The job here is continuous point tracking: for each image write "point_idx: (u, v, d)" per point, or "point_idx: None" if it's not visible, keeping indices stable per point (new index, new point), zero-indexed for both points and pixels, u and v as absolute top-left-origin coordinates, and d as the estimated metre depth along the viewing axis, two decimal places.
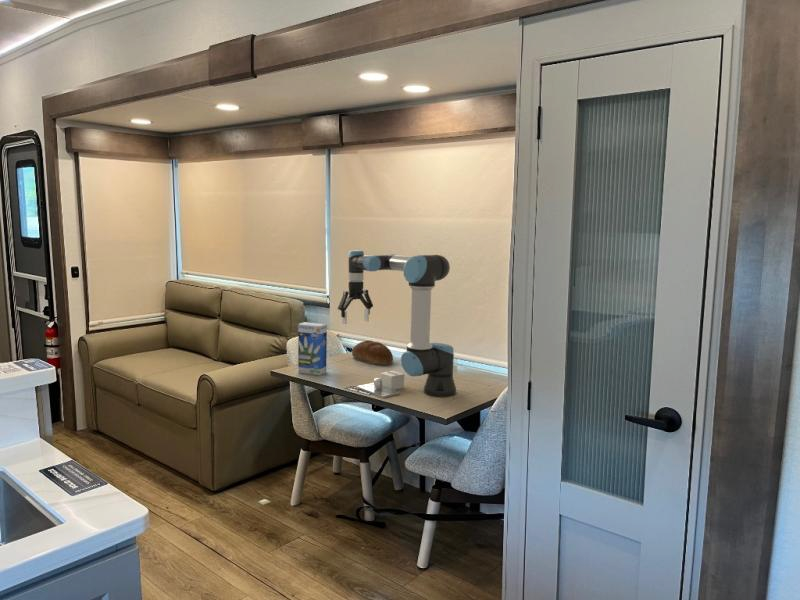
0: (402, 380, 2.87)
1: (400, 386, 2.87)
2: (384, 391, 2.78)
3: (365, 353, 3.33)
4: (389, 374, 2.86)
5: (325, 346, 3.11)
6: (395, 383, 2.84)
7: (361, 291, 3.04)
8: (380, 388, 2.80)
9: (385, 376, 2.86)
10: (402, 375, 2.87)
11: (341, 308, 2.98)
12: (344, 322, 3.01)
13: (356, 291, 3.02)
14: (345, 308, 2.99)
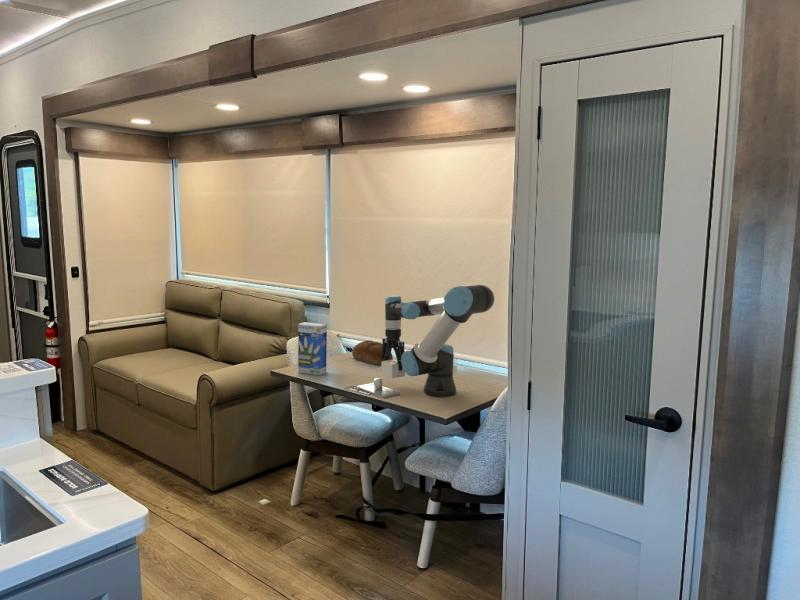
0: None
1: None
2: (384, 391, 2.78)
3: (365, 353, 3.33)
4: (390, 362, 2.85)
5: (325, 346, 3.11)
6: (396, 371, 2.83)
7: (395, 340, 2.82)
8: (380, 388, 2.80)
9: (386, 364, 2.84)
10: None
11: (381, 356, 2.91)
12: None
13: (390, 339, 2.85)
14: (384, 357, 2.89)
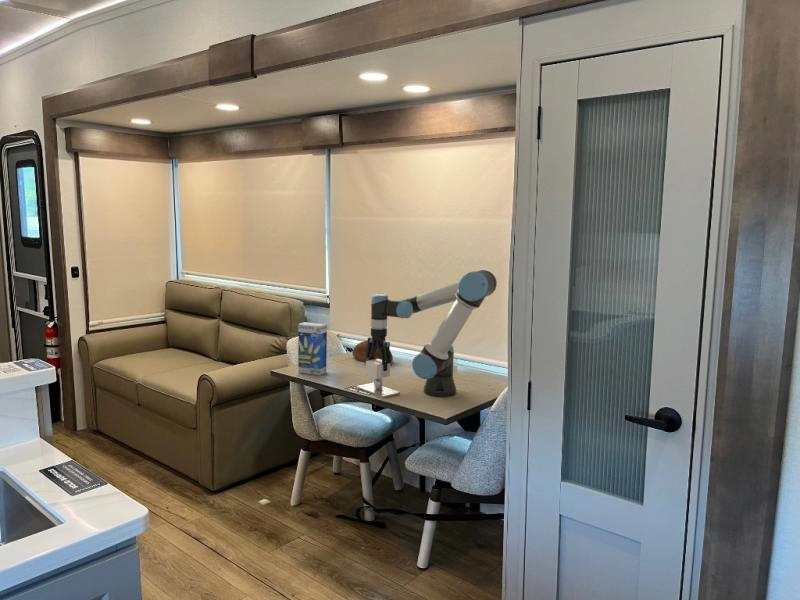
0: (388, 369, 2.79)
1: (386, 375, 2.79)
2: (384, 391, 2.78)
3: (365, 352, 3.33)
4: (375, 362, 2.78)
5: (325, 346, 3.11)
6: None
7: (380, 340, 2.76)
8: (380, 388, 2.80)
9: (370, 364, 2.78)
10: None
11: (366, 355, 2.84)
12: None
13: (376, 338, 2.78)
14: (369, 356, 2.83)
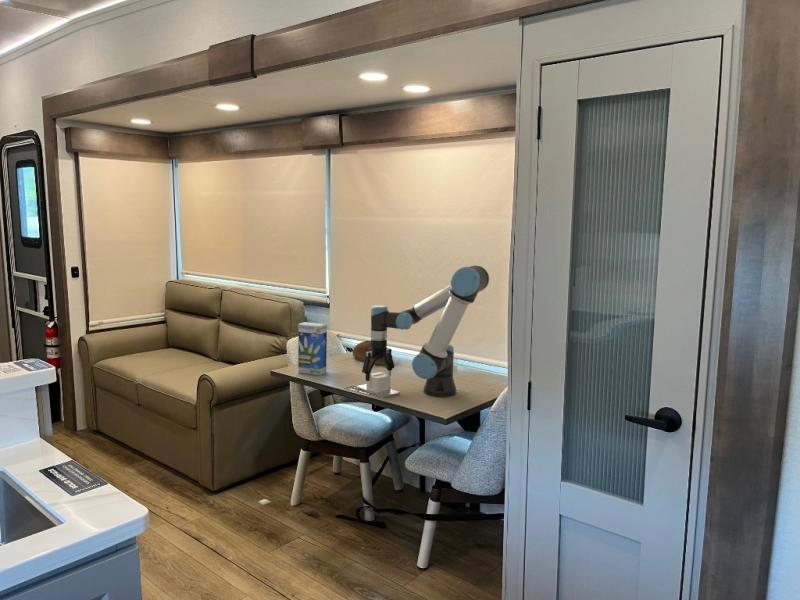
0: None
1: None
2: (384, 391, 2.78)
3: (365, 352, 3.33)
4: (382, 375, 2.79)
5: (325, 346, 3.11)
6: None
7: (384, 349, 2.80)
8: None
9: (383, 378, 2.78)
10: None
11: (366, 371, 2.74)
12: (369, 386, 2.77)
13: (379, 350, 2.78)
14: (370, 371, 2.76)
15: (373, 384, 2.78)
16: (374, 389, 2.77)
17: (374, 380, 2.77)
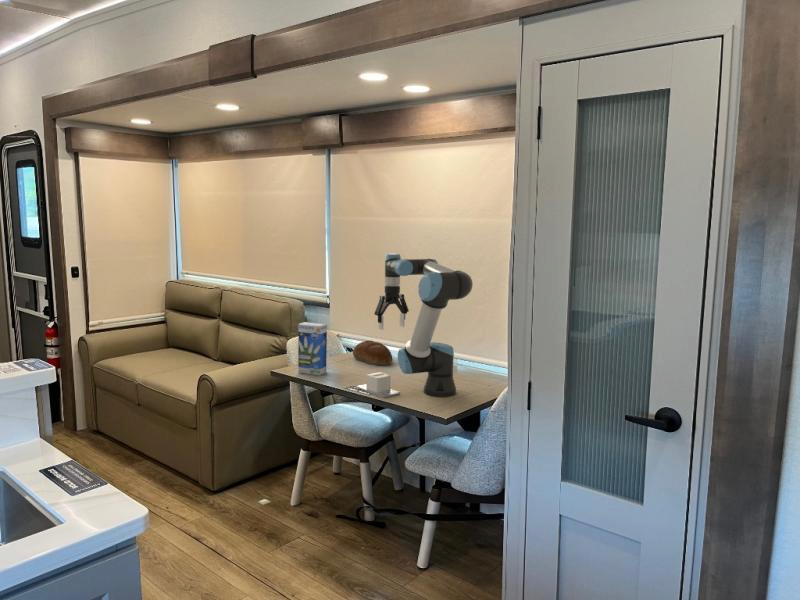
0: None
1: None
2: (384, 391, 2.78)
3: (365, 352, 3.33)
4: (382, 375, 2.79)
5: (325, 346, 3.11)
6: None
7: (397, 296, 2.96)
8: None
9: (383, 378, 2.78)
10: None
11: (378, 313, 2.89)
12: (381, 328, 2.92)
13: (392, 296, 2.94)
14: (382, 313, 2.91)
15: (373, 384, 2.78)
16: (374, 389, 2.77)
17: (374, 380, 2.77)
